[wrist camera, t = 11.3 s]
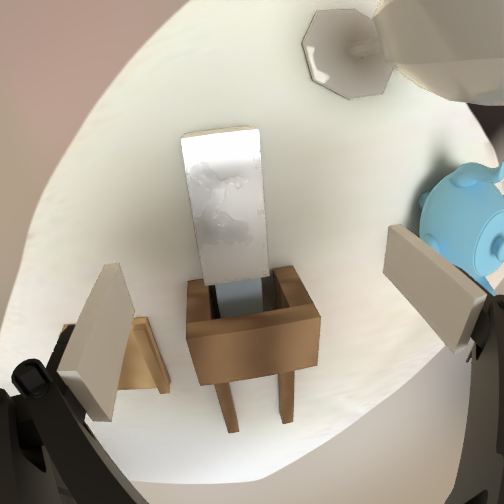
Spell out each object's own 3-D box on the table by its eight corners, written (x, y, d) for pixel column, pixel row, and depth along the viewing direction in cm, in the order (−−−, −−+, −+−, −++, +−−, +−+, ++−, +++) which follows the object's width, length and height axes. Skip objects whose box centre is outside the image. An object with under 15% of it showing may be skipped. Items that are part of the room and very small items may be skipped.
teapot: (489, 187, 30) (549, 217, 21) (445, 277, 34) (494, 322, 25) (432, 135, 26) (507, 157, 17) (378, 248, 30) (436, 302, 21)
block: (258, 248, 28) (269, 276, 24) (203, 256, 28) (204, 286, 24) (247, 125, 23) (258, 129, 19) (185, 133, 23) (181, 139, 19)
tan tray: (97, 384, 33) (94, 396, 31) (64, 325, 29) (58, 336, 27) (170, 380, 34) (169, 393, 32) (146, 317, 30) (144, 329, 28)
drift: (260, 345, 34) (267, 369, 31) (227, 350, 34) (230, 375, 30) (253, 249, 28) (260, 269, 25) (211, 254, 28) (213, 276, 25)
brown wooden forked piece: (224, 422, 40) (230, 469, 33) (187, 281, 29) (186, 338, 21) (292, 410, 41) (306, 455, 34) (292, 265, 30) (320, 316, 22)
